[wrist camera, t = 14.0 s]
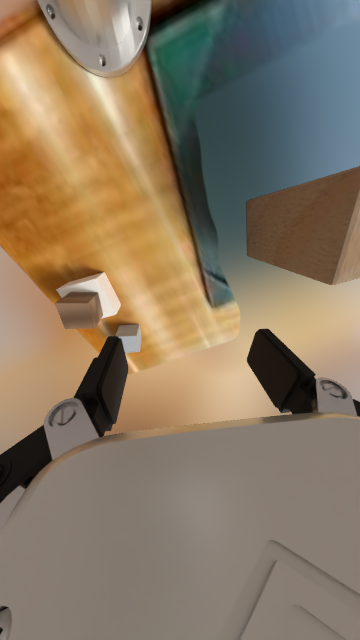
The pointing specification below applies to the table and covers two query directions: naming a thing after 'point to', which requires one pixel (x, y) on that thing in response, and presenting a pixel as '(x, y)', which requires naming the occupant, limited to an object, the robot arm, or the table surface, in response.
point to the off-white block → (95, 284)
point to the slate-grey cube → (130, 337)
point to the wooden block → (309, 228)
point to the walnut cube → (80, 310)
